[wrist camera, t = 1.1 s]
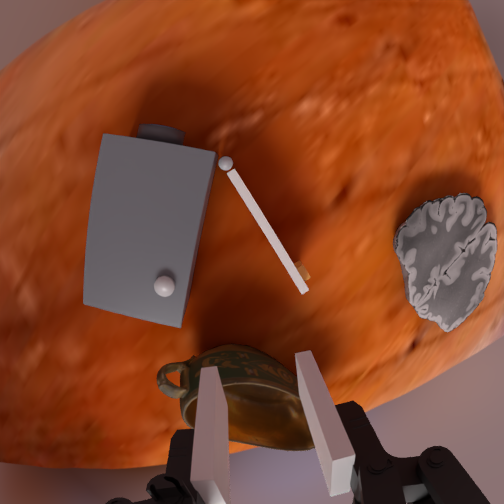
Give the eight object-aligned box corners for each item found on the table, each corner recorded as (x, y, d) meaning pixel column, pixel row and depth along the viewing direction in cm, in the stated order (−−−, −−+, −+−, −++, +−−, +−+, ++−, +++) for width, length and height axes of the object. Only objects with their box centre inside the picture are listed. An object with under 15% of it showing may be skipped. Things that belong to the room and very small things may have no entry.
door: (288, 275, 35) (300, 295, 29) (218, 162, 31) (215, 161, 25) (302, 267, 35) (316, 285, 29) (233, 153, 31) (234, 149, 25)
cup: (255, 288, 35) (265, 333, 25) (321, 398, 40) (341, 449, 31) (162, 336, 36) (144, 388, 26) (242, 432, 41) (246, 484, 31)
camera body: (107, 279, 34) (80, 306, 26) (131, 125, 29) (104, 115, 22) (188, 298, 35) (179, 331, 27) (221, 141, 31) (219, 133, 23)
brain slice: (498, 257, 37) (510, 263, 34) (430, 337, 40) (440, 347, 37) (446, 155, 33) (460, 156, 30) (361, 247, 35) (372, 254, 32)
